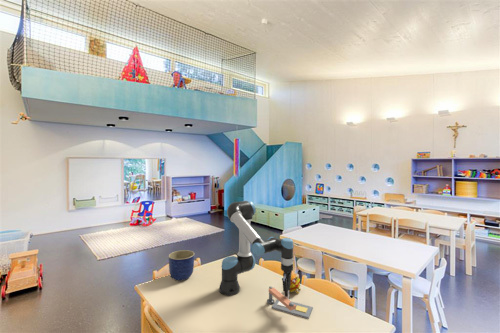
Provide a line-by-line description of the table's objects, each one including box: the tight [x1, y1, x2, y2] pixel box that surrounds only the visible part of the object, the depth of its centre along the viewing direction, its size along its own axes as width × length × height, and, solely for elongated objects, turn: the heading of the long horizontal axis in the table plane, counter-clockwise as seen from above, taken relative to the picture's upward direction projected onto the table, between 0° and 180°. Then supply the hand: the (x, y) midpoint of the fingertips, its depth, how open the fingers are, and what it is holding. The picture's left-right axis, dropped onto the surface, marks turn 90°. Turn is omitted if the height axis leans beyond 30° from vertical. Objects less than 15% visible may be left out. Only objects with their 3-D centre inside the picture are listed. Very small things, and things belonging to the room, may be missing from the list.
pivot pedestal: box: [266, 298, 275, 306], centre depth 167 cm, size 5×5×1 cm
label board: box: [271, 299, 314, 319], centre depth 161 cm, size 24×12×1 cm, turn 64°
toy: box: [289, 276, 301, 295], centre depth 183 cm, size 14×10×15 cm
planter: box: [168, 249, 196, 282], centre depth 202 cm, size 21×21×19 cm
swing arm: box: [268, 286, 296, 311], centre depth 157 cm, size 26×4×10 cm, turn 27°
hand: (286, 300), depth 157 cm, fingers closed
